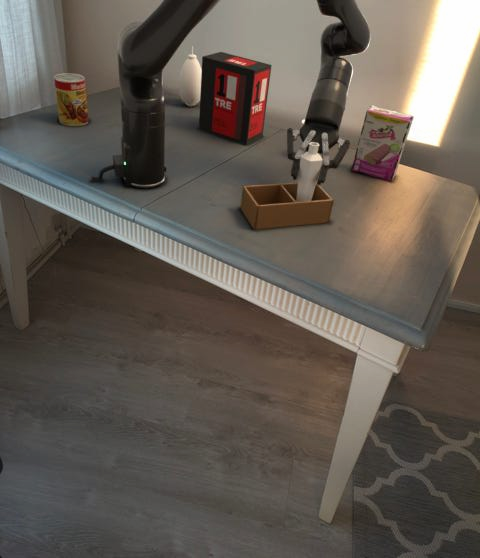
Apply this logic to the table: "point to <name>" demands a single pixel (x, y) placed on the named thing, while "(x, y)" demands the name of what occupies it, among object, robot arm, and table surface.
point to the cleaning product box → (233, 97)
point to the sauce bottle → (190, 81)
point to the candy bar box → (381, 142)
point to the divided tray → (284, 206)
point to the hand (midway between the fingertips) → (306, 180)
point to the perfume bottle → (308, 173)
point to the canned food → (71, 99)
